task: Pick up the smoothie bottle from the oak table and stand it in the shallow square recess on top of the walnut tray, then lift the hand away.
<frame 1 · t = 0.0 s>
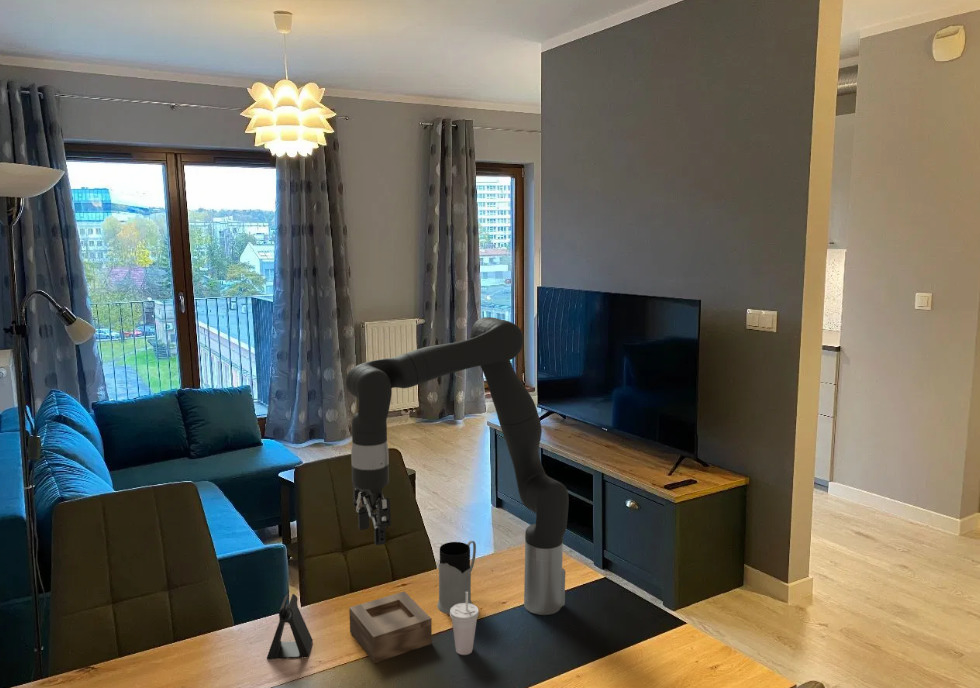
hand: (371, 536, 153), 29 cm above the table, tool pointing down, fingers open, 8 cm apart
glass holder: (460, 600, 184), on the table
walnut tray: (390, 638, 168), on the table
smoothie: (464, 650, 163), on the table
phone stand: (290, 651, 162), on the table
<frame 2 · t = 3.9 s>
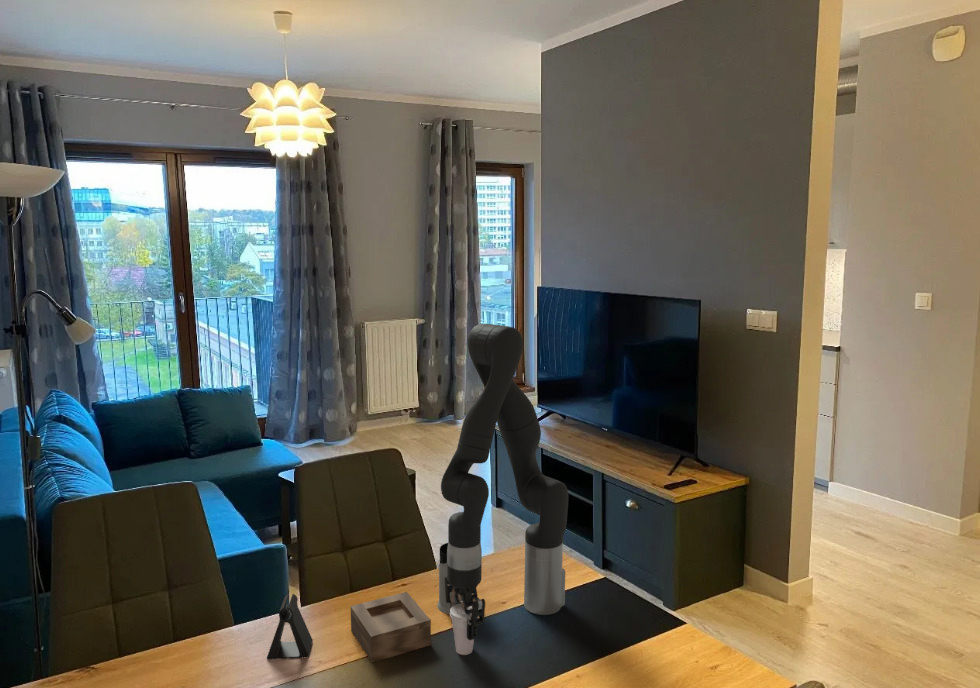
hand: (464, 630, 162), 5 cm above the table, tool pointing down, fingers closed on smoothie, 6 cm apart
smoothie: (464, 650, 163), on the table, touching gripper
everything else where it was.
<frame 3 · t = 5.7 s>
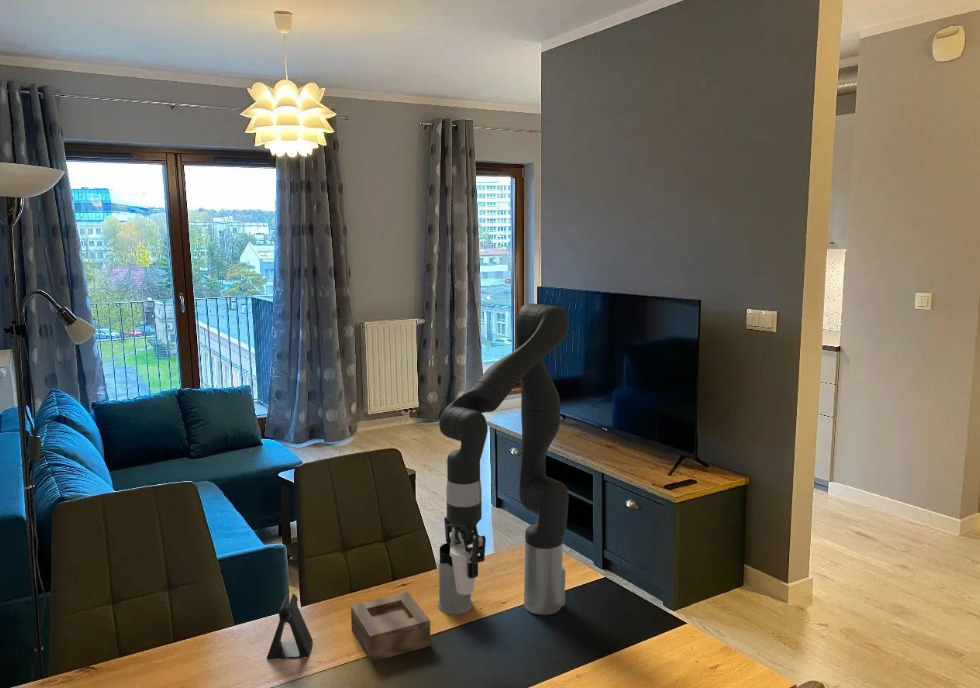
hand: (464, 570, 160), 19 cm above the table, tool pointing down, fingers closed on smoothie, 6 cm apart
smoothie: (465, 591, 161), point 14 cm above the table, touching gripper
everything else where it was.
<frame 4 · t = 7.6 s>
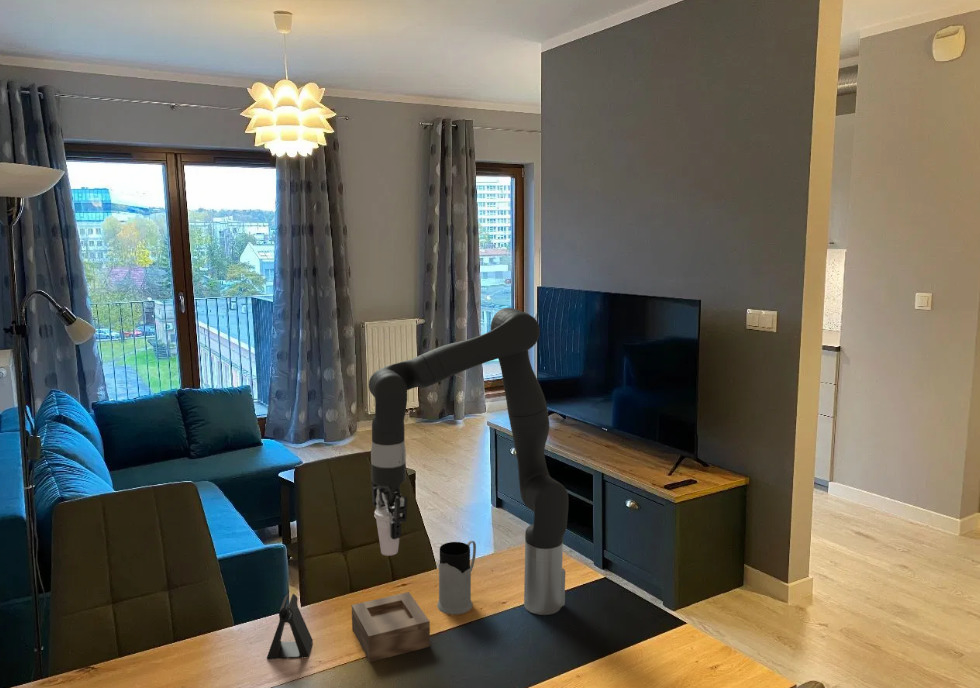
hand: (389, 532, 163), 26 cm above the table, tool pointing down, fingers closed on smoothie, 6 cm apart
smoothie: (389, 552, 164), point 21 cm above the table, touching gripper
everything else where it was.
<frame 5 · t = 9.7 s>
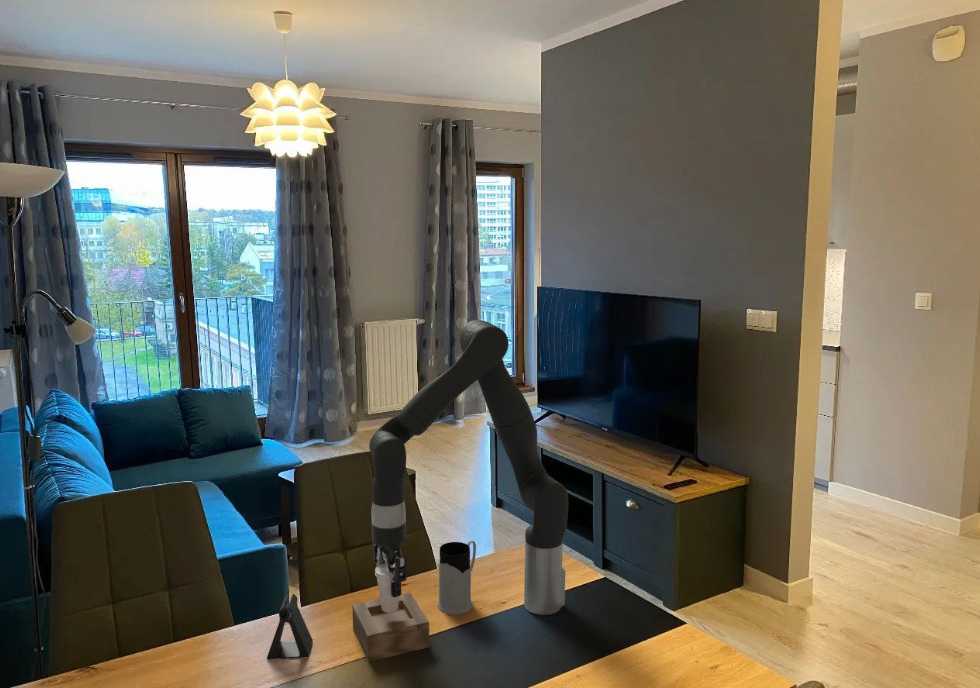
hand: (389, 589, 166), 12 cm above the table, tool pointing down, fingers closed on smoothie, 6 cm apart
smoothie: (390, 609, 166), point 7 cm above the table, touching gripper
everything else where it was.
when the fingers open (10 cm above the table, at t = 11.7 s): smoothie stays where it is, resting on walnut tray.
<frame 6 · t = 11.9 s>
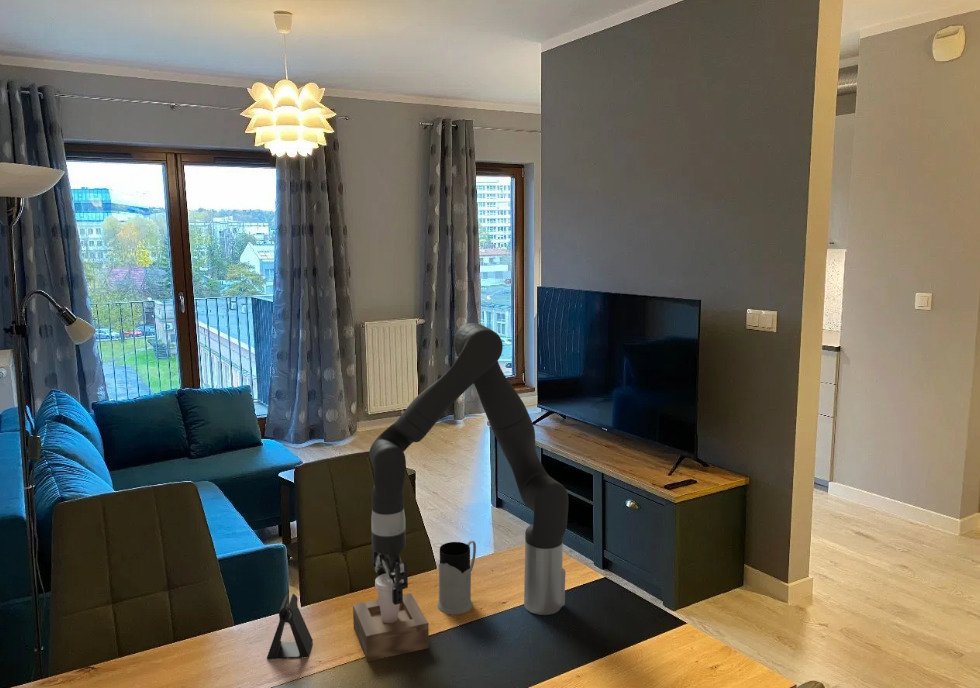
hand: (389, 595, 166), 11 cm above the table, tool pointing down, fingers open, 8 cm apart
walnut tray: (390, 639, 168), on the table, touching smoothie
smoothie: (389, 619, 167), point 4 cm above the table, touching walnut tray
everything else where it was.
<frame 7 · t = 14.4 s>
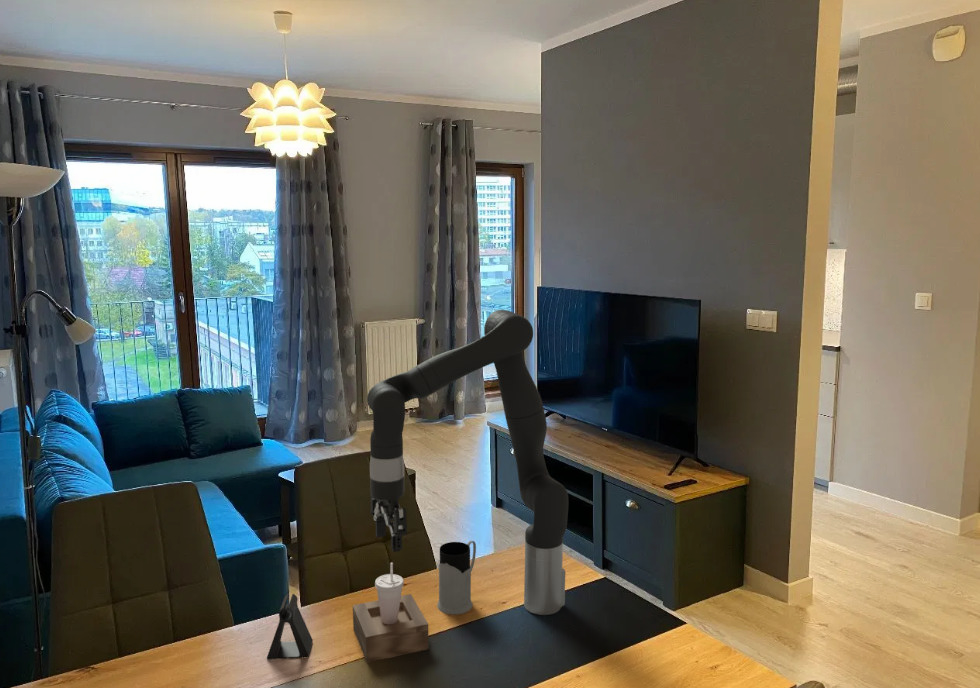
hand: (388, 543, 164), 23 cm above the table, tool pointing down, fingers open, 8 cm apart
nothing on the table moved.
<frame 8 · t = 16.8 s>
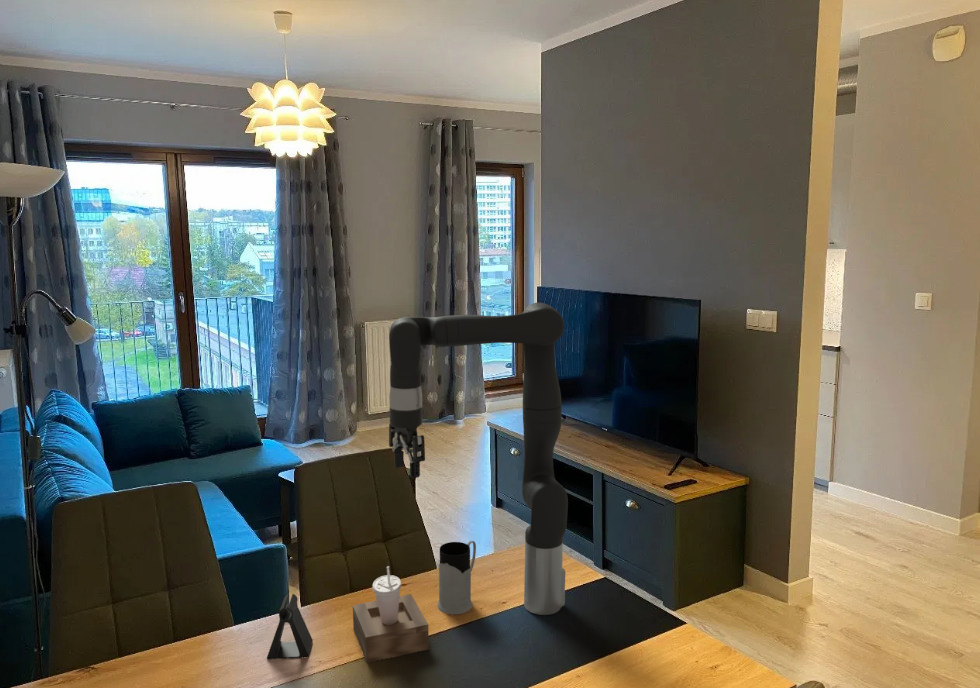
hand: (406, 471, 171), 36 cm above the table, tool pointing down, fingers open, 8 cm apart
at the end: smoothie inside the target area on the walnut tray (0.1 cm from its centre), point 5.1 cm above the walnut tray's base; smoothie tilted 9°; the gripper is holding nothing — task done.
